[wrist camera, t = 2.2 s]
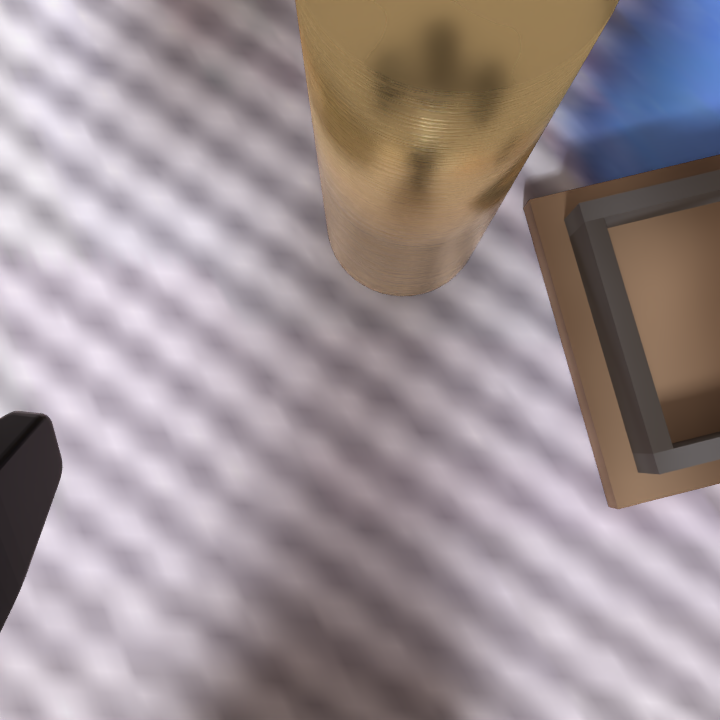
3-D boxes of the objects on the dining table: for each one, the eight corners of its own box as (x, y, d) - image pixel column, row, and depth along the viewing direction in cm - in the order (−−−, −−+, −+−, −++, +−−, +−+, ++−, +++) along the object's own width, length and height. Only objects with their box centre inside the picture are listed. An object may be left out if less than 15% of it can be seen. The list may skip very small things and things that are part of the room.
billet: (346, 312, 22) (331, 126, 10) (311, 169, 23) (252, -187, 10) (495, 276, 23) (678, 47, 10) (456, 135, 23) (578, -257, 10)
